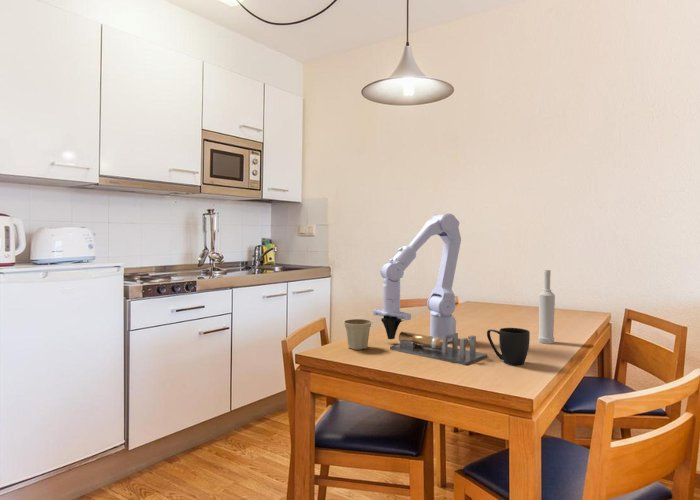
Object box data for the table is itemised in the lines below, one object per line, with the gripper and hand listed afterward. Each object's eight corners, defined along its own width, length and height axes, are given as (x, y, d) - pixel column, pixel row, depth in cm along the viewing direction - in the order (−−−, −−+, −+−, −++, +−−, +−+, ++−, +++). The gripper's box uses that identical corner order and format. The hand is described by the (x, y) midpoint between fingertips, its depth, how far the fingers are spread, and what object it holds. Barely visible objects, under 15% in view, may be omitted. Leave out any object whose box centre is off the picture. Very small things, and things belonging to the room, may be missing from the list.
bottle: (555, 344, 158) (557, 270, 158) (539, 343, 159) (540, 270, 159) (552, 341, 163) (553, 269, 163) (536, 340, 164) (537, 269, 164)
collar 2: (471, 356, 142) (472, 335, 141) (475, 357, 141) (475, 335, 141) (459, 361, 136) (460, 339, 136) (463, 361, 135) (463, 339, 135)
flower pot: (347, 352, 146) (347, 324, 146) (340, 345, 155) (340, 319, 155) (375, 350, 148) (376, 323, 148) (367, 343, 158) (367, 318, 157)
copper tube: (398, 343, 153) (398, 332, 153) (405, 341, 156) (405, 330, 156) (441, 351, 142) (441, 339, 142) (447, 349, 145) (447, 337, 145)
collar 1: (454, 352, 146) (454, 332, 145) (457, 353, 145) (457, 333, 145) (441, 357, 140) (442, 336, 140) (445, 358, 139) (445, 336, 139)
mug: (492, 355, 142) (493, 324, 142) (533, 362, 135) (533, 330, 135) (481, 361, 136) (482, 328, 136) (523, 368, 128) (524, 334, 128)
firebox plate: (413, 342, 159) (413, 335, 159) (487, 356, 141) (487, 348, 141) (389, 349, 150) (390, 341, 150) (466, 365, 132) (466, 356, 132)
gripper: (367, 297, 159) (367, 337, 159) (402, 302, 149) (401, 344, 150) (380, 295, 164) (380, 334, 165) (414, 299, 154) (414, 340, 155)
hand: (391, 338), depth 157 cm, fingers closed
